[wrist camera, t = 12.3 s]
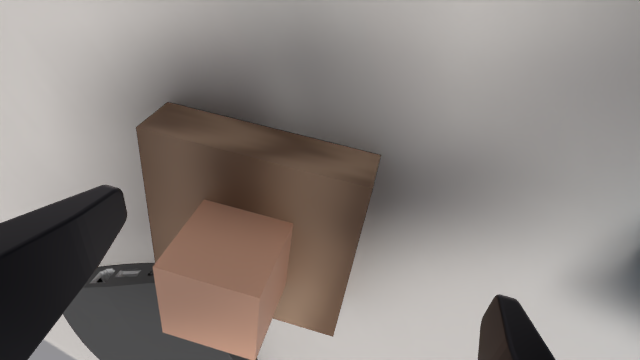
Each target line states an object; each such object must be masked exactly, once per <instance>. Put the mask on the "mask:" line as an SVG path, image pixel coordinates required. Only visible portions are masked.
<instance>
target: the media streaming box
mask: <svg viewBox="0 0 640 360" xmlns="http://www.w3.org/2000/svg"><path fill="white" fill-rule="evenodd" d="M154 264H155V263H144V264H126V265H113V266H104V267H97V269H96V270H95V272H94V273H93V275H92V276H91V277H90V279H89V280H88V282H87V283H86V284H85V285H84V287H83V288H82V289H81V291H80V292H79V293H78V295H77V296H76V297H75V299H74V300H73V301H72V302H71V304H70V305H69V306H68V308H67V309H66V310H65V312H64V313H63V315H64V317H65V318H66V320H67V321H68V323H69V324H70V326H71V327H72V329H73V330H74V332H75V333H76V334H77V336H78V337H79V338H80V339H81V341H82V342H83V343H84V344H85V345H86V346H87V348H88V349H89V350H90V351H91V352H92V353H93V354H94V355H95V356H96V357H97V358H98V359H99V360H250V359H246V358H243V357H240V356H237V355H234V354H230V353H227V352H224V351H221V350H218V349H214V348H211V347H208V346H205V345H202V344H198V343H195V342H192V341H189V340H186V339H182V338H179V337H176V336H173V335H170V334H166V333H163V331H162V325H161V318H160V312H159V306H158V299H157V293H156V286H155V280H154V274H153V265H154ZM127 269H129V270H127ZM256 360H257V358H256Z"/></svg>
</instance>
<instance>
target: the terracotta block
mask: <svg viewBox="0 0 640 360" xmlns="http://www.w3.org/2000/svg"><path fill="white" fill-rule="evenodd" d="M292 230H293V223H290V222H286V221H283V220H279V219H275V218H271V217H268V216H264V215H260V214H257V213H253V212H249V211H245V210H242V209H238V208H234V207H231V206H227V205H223V204H219V203H216V202H212V201H208V200H205V199H204V200H203V201H202V202H201V204H200V205H199V206H198V208H197V209H196V210H195V212H194V213H193V214H192V216H191V217H190V218H189V220H188V221H187V222H186V223H185V225H184V226H183V227H182V229H181V230H180V231H179V233H178V234H177V235H176V237H175V238H174V239H173V241H172V242H171V243H170V244H169V246H168V247H167V248H166V250H165V251H164V252H163V254H162V255H161V256H160V258H159V259H158V260H157V262H156V263H155V264H154V265H153V274H154V280H155V286H156V293H157V299H158V306H159V312H160V318H161V325H162V331H163V333H166V334H170V335H173V336H176V337H179V338H182V339H186V340H189V341H192V342H195V343H198V344H202V345H205V346H208V347H211V348H214V349H218V350H221V351H224V352H227V353H230V354H234V355H237V356H240V357H243V358H246V359H250V360H256V358H257V355H258V353H259V350H260V348H261V345H262V343H263V340H264V338H265V335H266V333H267V330H268V328H269V325H270V323H271V320H272V318H273V315H274V313H275V310H276V308H277V305H278V303H279V300H280V298H281V295H282V293H283V290H284V288H285V285H286V278H287V270H288V262H289V254H290V246H291V238H292Z"/></svg>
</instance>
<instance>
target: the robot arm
mask: <svg viewBox="0 0 640 360" xmlns="http://www.w3.org/2000/svg"><path fill="white" fill-rule="evenodd" d="M126 218H127V210H126V206H125V201H124V196H123V192H122V191H121V189H119V188H116V187H113V186H109V185H102V186H99V187H96V188H93V189H91V190H88V191H85V192H83V193H80V194H77V195H74V196H72V197H69V198H66V199H64V200H61V201H58V202H56V203H53V204H50V205H48V206H45V207H42V208H40V209H37V210H34V211H32V212H29V213H26V214H24V215H21V216H18V217H16V218H13V219H10V220H8V221H5V222H2V223H0V360H28V358H29V357H30V356H31V355H32V353H33V352H34V351H35V349H36V348H37V347H38V345H39V344H40V343H41V341H42V340H43V339H44V338H45V336H46V335H47V334H48V332H49V331H50V330H51V328H52V327H53V326H54V325H55V323H56V322H57V321H58V319H59V318H60V317H61V315H62V314H63V313H64V312H65V310H66V309H67V308H68V306H69V305H70V304H71V302H72V301H73V300H74V299H75V297H76V296H77V295H78V293H79V292H80V291H81V289H82V288H83V287H84V285H85V284H86V283H87V282H88V280H89V279H90V277H91V276H92V275H93V273H94V272H95V270H96V269H97V267H98V266H99V264H100V263H101V261H102V259H103V258H104V256H105V254H106V253H107V251H108V250H109V248H110V246H111V245H112V243H113V241H114V240H115V238H116V236H117V235H118V233H119V232H120V230H121V228H122V227H123V225H124V223H125V221H126ZM478 360H555V358H554V357H553V355H552V353H551V352H550V350H549V349H548V347H547V346H546V344H545V342H544V341H543V339H542V338H541V336H540V335H539V333H538V331H537V330H536V328H535V327H534V325H533V323H532V322H531V320H530V319H529V317H528V316H527V314H526V312H525V311H524V309H523V308H522V306H521V305H520V303H519V302H518V301H517V300H516V299H514V298H511V297H507V296H503V295H496V296H495V297H494V299H493V300H492V302H491V304H490V305H489V307H488V309H487V311H486V312H485V314H484V316H483V318H482V321H481V327H480V339H479V352H478Z"/></svg>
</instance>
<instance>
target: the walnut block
mask: <svg viewBox="0 0 640 360" xmlns="http://www.w3.org/2000/svg"><path fill="white" fill-rule="evenodd" d="M136 131H137V138H138V145H139V152H140V159H141V166H142V173H143V180H144V187H145V194H146V201H147V208H148V215H149V222H150V229H151V236H152V243H153V250H154V258H155V263H156V262H157V260H158V259H159V258H160V256H161V255H162V254H163V252H164V251H165V250H166V248H167V247H168V246H169V244H170V243H171V242H172V241H173V239H174V238H175V237H176V235H177V234H178V233H179V231H180V230H181V229H182V227H183V226H184V225H185V223H186V222H187V221H188V220H189V218H190V217H191V216H192V214H193V213H194V212H195V210H196V209H197V208H198V206H199V205H200V204H201V202H202V201H203V200H204V199H205V200H208V201H212V202H216V203H219V204H223V205H227V206H231V207H234V208H238V209H242V210H245V211H249V212H253V213H257V214H260V215H264V216H268V217H271V218H275V219H279V220H283V221H286V222H290V223H293V230H292V238H291V246H290V254H289V262H288V270H287V278H286V285H285V288H284V290H283V293H282V295H281V298H280V300H279V303H278V305H277V308H276V310H275V313H274V315H273V319H277V320H280V321H283V322H287V323H290V324H293V325H296V326H300V327H303V328H306V329H310V330H313V331H316V332H320V333H323V334H326V335H330V336H333V335H334V331H335V327H336V324H337V320H338V316H339V313H340V309H341V305H342V301H343V298H344V294H345V290H346V287H347V283H348V279H349V275H350V272H351V268H352V264H353V260H354V257H355V253H356V249H357V246H358V242H359V238H360V234H361V231H362V227H363V223H364V220H365V216H366V212H367V208H368V205H369V201H370V197H371V193H372V190H373V186H374V182H375V178H376V173H377V169H378V165H379V161H380V157H381V155H378V154H374V153H370V152H366V151H362V150H358V149H354V148H350V147H346V146H342V145H338V144H334V143H330V142H326V141H322V140H318V139H314V138H310V137H306V136H302V135H298V134H294V133H290V132H286V131H282V130H278V129H274V128H270V127H266V126H262V125H258V124H254V123H250V122H246V121H242V120H238V119H234V118H230V117H226V116H222V115H218V114H214V113H209V112H205V111H201V110H197V109H193V108H189V107H185V106H181V105H177V104H173V103H169V102H167V103H166V104H165V105H163V106H162V107H161V108H160V109H158V110H157V111H156V112H155V113H153V114H152V115H151V116H150V117H148V118H147V119H146V120H145V121H143V122H142V123H141V124H140V125H138V126H137V127H136Z"/></svg>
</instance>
